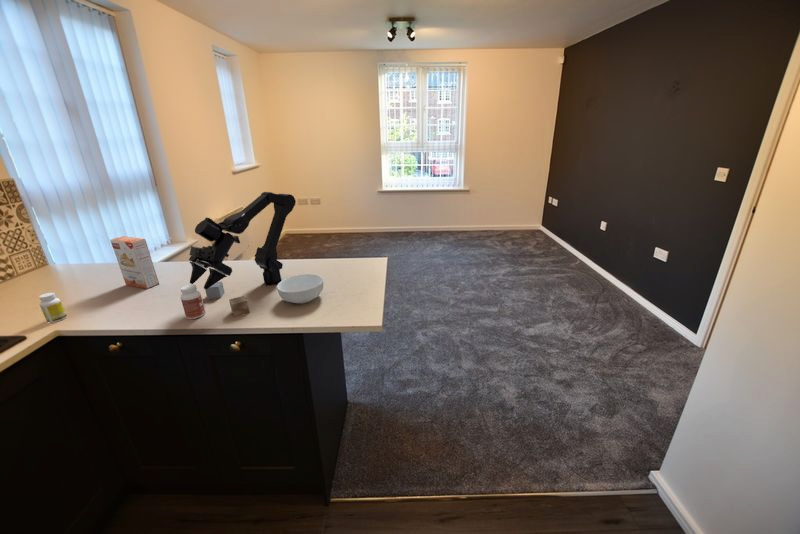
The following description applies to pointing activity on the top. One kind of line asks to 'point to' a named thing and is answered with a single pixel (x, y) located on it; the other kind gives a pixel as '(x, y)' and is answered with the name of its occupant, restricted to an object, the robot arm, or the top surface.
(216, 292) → the slate-grey cube
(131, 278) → the cracker box
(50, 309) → the supplement bottle
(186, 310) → the pill bottle
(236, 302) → the walnut cube
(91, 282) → the top surface
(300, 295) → the cereal bowl
